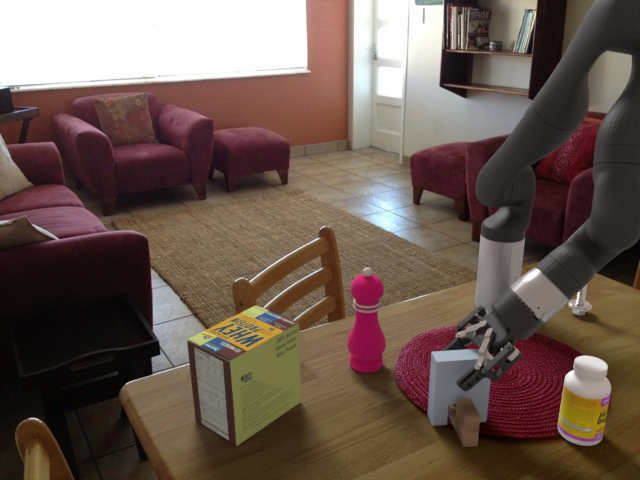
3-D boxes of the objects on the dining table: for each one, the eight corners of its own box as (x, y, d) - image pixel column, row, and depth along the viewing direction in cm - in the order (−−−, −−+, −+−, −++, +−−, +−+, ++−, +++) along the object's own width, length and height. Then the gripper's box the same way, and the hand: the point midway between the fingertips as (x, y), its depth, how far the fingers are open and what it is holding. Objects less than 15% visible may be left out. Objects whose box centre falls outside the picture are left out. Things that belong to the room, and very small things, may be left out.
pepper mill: (390, 359, 117) (393, 263, 110) (377, 378, 111) (379, 278, 104) (355, 351, 120) (356, 257, 113) (341, 369, 114) (341, 271, 107)
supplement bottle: (598, 453, 92) (611, 380, 87) (552, 438, 95) (563, 367, 91) (605, 429, 97) (618, 359, 93) (561, 415, 100) (572, 347, 96)
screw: (567, 316, 133) (566, 306, 137) (591, 319, 131) (589, 309, 136) (575, 261, 128) (574, 253, 133) (599, 264, 127) (598, 255, 131)
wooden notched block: (433, 384, 109) (435, 357, 107) (445, 383, 110) (447, 356, 108) (463, 447, 93) (466, 417, 92) (477, 446, 94) (480, 416, 92)
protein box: (302, 401, 105) (300, 321, 100) (236, 448, 94) (229, 361, 89) (260, 380, 111) (255, 303, 106) (193, 421, 100) (184, 338, 95)
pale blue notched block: (432, 425, 98) (436, 361, 94) (427, 414, 101) (431, 351, 97) (486, 421, 99) (492, 358, 95) (480, 410, 102) (486, 348, 98)
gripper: (497, 270, 99) (424, 336, 102) (534, 309, 86) (449, 384, 89) (524, 297, 102) (453, 361, 105) (565, 340, 88) (482, 412, 91)
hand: (452, 372), depth 97 cm, fingers open, 8 cm apart
